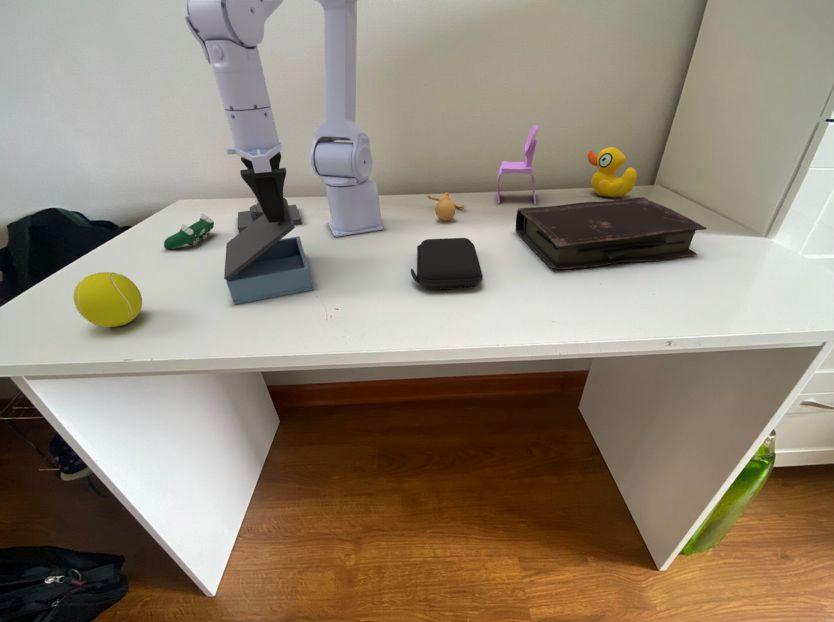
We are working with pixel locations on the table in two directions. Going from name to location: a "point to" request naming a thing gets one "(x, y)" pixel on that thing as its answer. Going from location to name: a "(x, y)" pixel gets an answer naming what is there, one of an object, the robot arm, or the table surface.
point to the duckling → (611, 173)
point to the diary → (606, 232)
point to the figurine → (445, 207)
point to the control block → (250, 216)
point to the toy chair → (521, 166)
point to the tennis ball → (107, 299)
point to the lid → (255, 241)
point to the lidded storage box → (273, 273)
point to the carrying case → (447, 264)
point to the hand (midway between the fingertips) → (274, 212)
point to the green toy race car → (190, 233)
